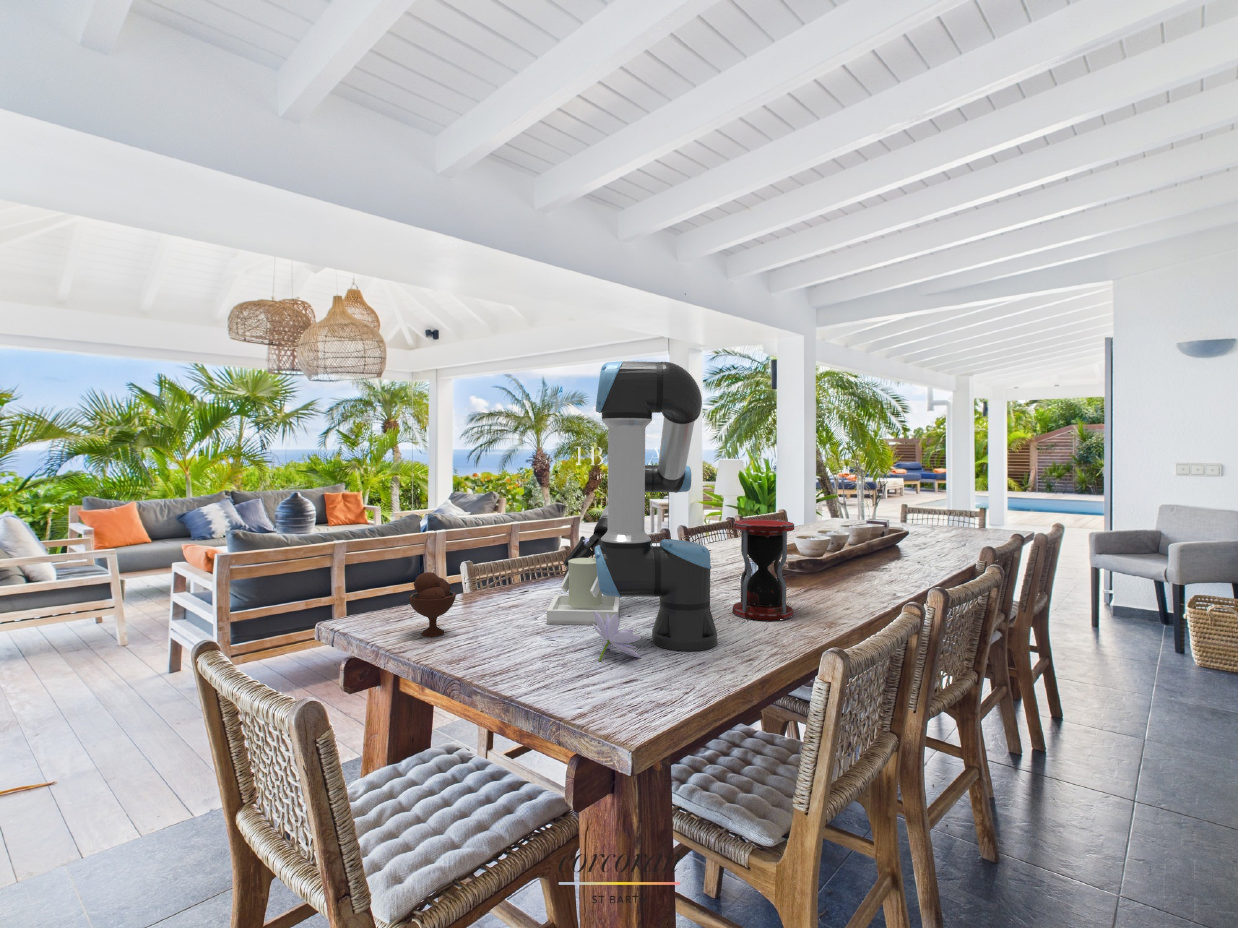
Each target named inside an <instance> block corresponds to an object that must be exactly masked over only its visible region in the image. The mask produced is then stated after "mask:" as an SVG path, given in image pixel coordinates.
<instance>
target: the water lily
mask: <svg viewBox="0 0 1238 928" xmlns="http://www.w3.org/2000/svg"><path fill="white" fill-rule="evenodd" d="M593 614H594V618H595V620H596V623H597V625H595V624H592V625H591V626H593V628H594V630H595V631H596V632H597V633H598V635H599V636H600V637H602V639H604V640H602V646H603V649H602V650H601V653H600V655H599V657H598V660H597V661H598V662H602V660H603V657H604V654H605V653H606V651H607V650H611V649H612V648H613V647H615V648H616V649H617V650H618V651H621V652H623V653H624V654H626V655H628V656H631V657H635V658H638V659H642V657H641V655H640V654H639V653H638V652H636V651H635V650H633V649H637V646H634V645H631V643H635V642H637V641H639V640H641V639H642V637H641V636H640V635H637V634H634V633H633V632H634V630H633V629H631V628H626V629H624V630H622V631H619V627H620V617H619V618H618V616H617V615H613V616H612V617H611V619H610V617H609V615H608V614H607V615H606V621H605V625H604V623H603V620H602V618H601V616H600V615H599V613H598V612H597V613H596V612H595V611H593Z"/></svg>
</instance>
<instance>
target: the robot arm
mask: <svg viewBox="0 0 1238 928" xmlns="http://www.w3.org/2000/svg"><path fill="white" fill-rule="evenodd" d="M599 373H600V374H599V380H598V386H597V394H596V402H595V403H596V404H595V412H596V413H598V414H601V421H602V422H603V424H604V425H606V426H607V435H608V436H607V437H608V438H607V504H606V505H605V507H604V509H603V510H602V513H601V514H600V515H599V519H598V520H597V523H596V525H595V526H594V529H593V534H592V535H591V536H590V537H585V536H584V535H583V536H580V539H579V541H578V543H577V544H576V546H574V548H573V549H572V550H571V552H570V553H569V554H568V556H567V557H566V558H565V560H564V561H563V564H564V565H565V567H566V571H565V573H564V575H563V580H562V582H561V583H560V586H559V587H560V588H561V590H562V591H563V592H564V593H568V592H569V567H568V561H569V560H570V559H575V558H591V556H592V557H593V556H594V555H595V558H596V568H597V577H596V579H595V581H594V584H593V586H592V588H591V590H590V592H591V593H592V595H593V596H594V597H597V595H598V593H599V591H601V593H602V595H605V596H614V597H619V598H620V599H621V598H638V597H639V598H654V597H655V598H658V597H659V609H658V612H657V615H656V618H655V621H654V625H653V627H652V630H651V641H652V643H653V644H654V645H656V646H658V647H660V648H663V649H666V650H673V651H674V650H675V651H684V652H685V651H687V652H692V651H694V652H695V651H702V650H703V651H704V650H708V649H711V648H714V647H715V646H717V644H718V631H717V628H716V625H715V621H714V618H713V614H712V611H711V569H712V563H711V552H710V549H708V547H706V546H705V545H703V544H699V543H696V542H693V541H687V540H680V539H671V538H670V539H667V538H665V539H661V540H660V542H659V546H658V545H657V546H656V545H652V537H650V536H649V535H648V534H647V533H646V531H645V522H646V521H645V518H646V517H645V513H646V510H645V509H646V508H645V504H646V501H645V499H646V496H645V495H646V493H675V494H679V493H687V492H689V491H690V489H692V470H691V469H692V468H691V467H690V465H687V464H688V458H689V452H690V447H691V442H692V437H693V431H694V426H695V421H696V420H698V419H699V417H700V415H701V412H702V407H703V398H702V392H701V390H700V386H699V384H698V383H697V381H696V380H695V378H694V377H693V376H692V375H691V373H689V372H688V370H686V369H685V368H683V367H682V366H680V365H679V364H676V363H673V362H669V361H639V360H638V361H636V360H633V361H631V360H619V361H608V362H605V363H604V364H603V365H602V366H601V368H600V372H599ZM654 413H655V414H656V413H658V414H660V413H662V417H663V423H662V431H661V439H660V447H659V457H658V464H654V465H653V464H651V465H650V464H649V465H648V464H646V429H647V427H648V425H649V424H650V423H652V421H653V414H654Z"/></svg>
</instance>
